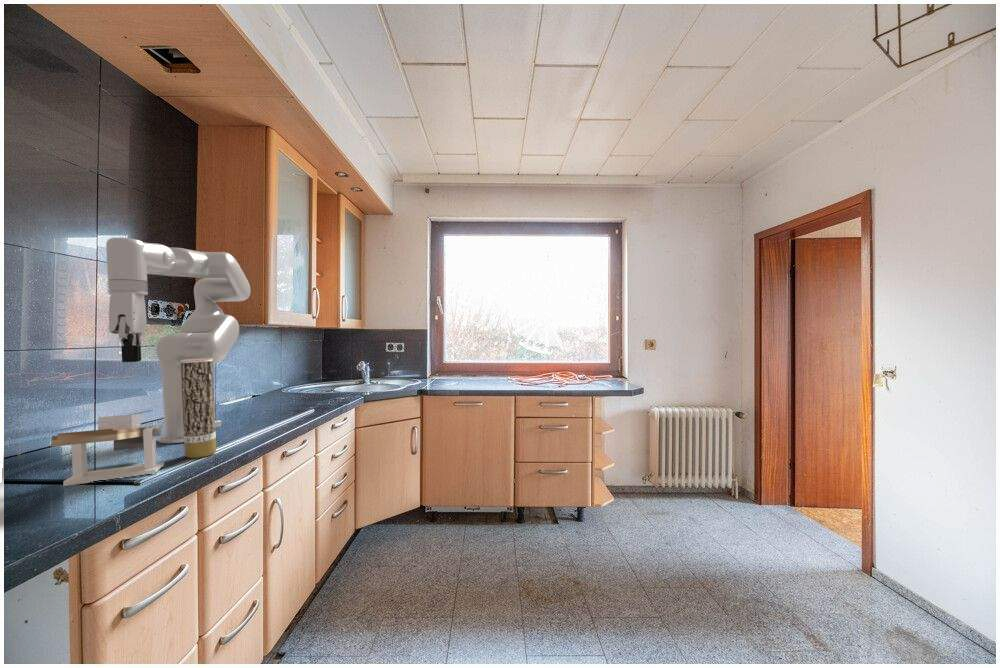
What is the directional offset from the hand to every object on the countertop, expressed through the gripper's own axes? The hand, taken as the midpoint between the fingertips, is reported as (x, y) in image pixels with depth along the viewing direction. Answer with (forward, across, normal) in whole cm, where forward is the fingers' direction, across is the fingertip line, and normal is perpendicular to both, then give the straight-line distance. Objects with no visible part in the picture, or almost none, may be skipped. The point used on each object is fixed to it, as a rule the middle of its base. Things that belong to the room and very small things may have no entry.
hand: (131, 361), depth 109 cm
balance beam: (+20, +13, 0) cm, 23 cm away
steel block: (+16, +9, 0) cm, 18 cm away
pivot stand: (+25, +12, 0) cm, 28 cm away
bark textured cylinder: (+25, +3, +14) cm, 29 cm away
